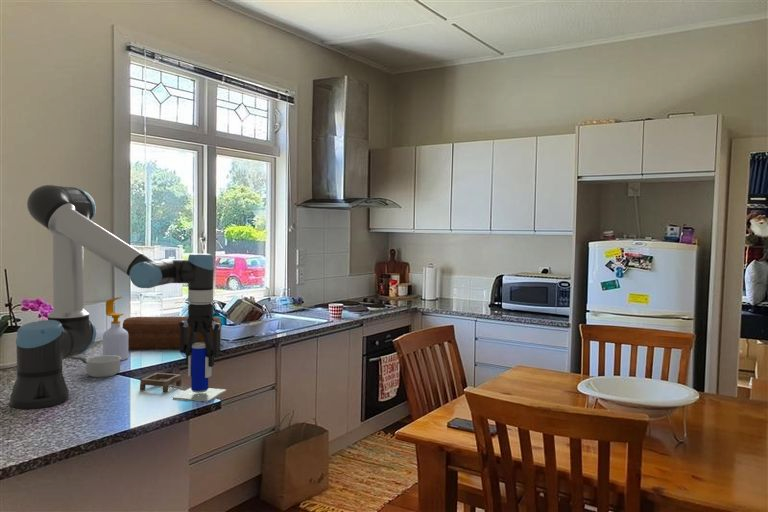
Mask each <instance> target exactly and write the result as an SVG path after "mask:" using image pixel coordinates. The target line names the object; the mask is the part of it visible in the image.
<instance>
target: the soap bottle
mask: <svg viewBox="0 0 768 512" xmlns="http://www.w3.org/2000/svg"><path fill="white" fill-rule="evenodd" d="M122 298H123V297H122V296H120V297H119V296H118V297H114V298H111V299H107V300H106V302H105V314H106V316H107V317H108V316H109V317H111V318H112V319H113V320H111V321H110V327H109V328H108V329H106V330H105V331H104V332H103V334H102V356H106V355H113V356H120V357H121V359H120V362H121V361H122V362H123V361H125V360H128V358H129V350H128V332H127V331H126V330H125V329H123V328H122V326H121V321H120V320H119V318H120V317H122V316H123V315H124V313H116V312H115V311H114V307H115V306H114V305H115V304H114V303H115V301H116V300H119V299H122Z"/></svg>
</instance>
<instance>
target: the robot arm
mask: <svg viewBox="0 0 768 512" xmlns="http://www.w3.org/2000/svg"><path fill="white" fill-rule="evenodd" d="M26 205H27V210H28V211H27V212H29V215H30V216H31V217H32V218H33V219H34V220H35V221H36V222H37V223H39V224H40V225H41V226H43V227H45V228H46V229H47V231H49V233H51V235H52V291H53V292H52V295H53V296H52V298H53V299H52V300H53V301H52V305H53V306H52V307H53V308H52V311H51V312H50V313H48V314H47V319H45V320H44V319H43V320H38V321H32V322H27V323H25V324H23V325H21V326H20V327H19V328H18V329H17V332H16V338H15V344H16V379H15V382H14V385H13V388H12V392H11V393H10V396H9V406H10V407H11V408H15V409H22V410H23V409H26V410H27V409H39V408H40V409H41V408H48V407H53V406H56V405H59V404H63V403H65V402H66V401H68V400H70V399H69V398H70V390H69V389H68V386H67V383H66V380H65V377H64V374H63V360H65V359H69V358H68V357H71V356H75V357H76V356H78V355H80V354H82V353H84V352H86V351H87V350H88V349H90V348H91V347H92V346H93V344H95V341H96V336H97V328H96V325H95V324H94V323H93V322H92V320H90V312H88V311H87V310H86V309H85V306H84V305H85V304H84V303H85V302H84V297H85V295H84V291H85V289H84V288H85V287H84V286H85V285H84V280H85V279H84V276H85V274H84V273H85V272H84V270H85V269H84V266H85V265H84V255H85V253H84V249H86V250H87V251H89V252H91V254H92V253H93V254H94V255H96V256H97V257H99V258H100V259H102V260H103V261H105V262H106V263H108V264H109V265H111V266H112V267H114V268H116V269H117V270H119V271H120V272H122V273H124V274H125V275H127V276H128V277H129V279H130V282H132V284H133V285H134V287H136V288H140V289H153V288H155V287H159V286H164V285H168V284H187V285H188V287H187V288H188V292H187V302H189V303H188V304H187V315H188V316H187V317H188V319H187V321H182V322H179V326H180V329H181V334H180V349H179V352H180V353H181V354H184V355H185V365H186V366H187V371H188V372H187V377H191V363H192V345H193V343H195V342H196V338H197V334H198V333H199V332H200V333H202V336H203V337H204V341H205V345H206V350H207V354H208V356H207V357H205V378H208V379H209V378H210V377H212V373H213V372H212V371H213V370H212V368H213V367H214V365H215V356H217V355H219V354H221V342H220V330H221V331H222V327H223V324H222V322H221V323H216V322H214V320H213V317H214V316H213V315H214V304H213V302H214V270H215V267H214V265H215V264H214V257H213V255H212V254H210V253H190V254H188V258H187V259H177V258H176V259H175V258H174V259H173V258H172V259H171V258H155V259H152V258H150V257H149V256H148V255H146V254H144V253H142V252H141V251H139V250H138V249H136V248H135V247H134V246H131V245H130V244H128V243H127V242H125V241H124V240H122V239H120V238H119V237H118V236H116V235H115V234H113V233H112V232H110V231H108V230H107V229H105V228H103V227H102V226H101V225H99V224H97V223H96V222H94V221H92V219H94V218H95V215H96V211H97V209H96V208H97V207H96V203H95V200H94V198H93V197H92V195H90V194H89V192H87V191H86V190H84V189H81V188H77V187H73V186H62V185H61V186H60V185H53V184H47V185H41V186H38V187H37V188H35V189H34V190H32V191H31V192H30V194H29V196H28V198H27V202H26ZM188 325H189V326H190V327H191V330H190V337H189V341H188ZM211 326H213V329H214V330H213V343H212V338H211V330H210V328H211Z"/></svg>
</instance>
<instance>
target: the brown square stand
mask: <svg viewBox="0 0 768 512" xmlns="http://www.w3.org/2000/svg"><path fill="white" fill-rule="evenodd" d="M163 379H164V380H163ZM139 381H140V384H139V391H140V390H144V391H146V390H145V389H146V387H147V386H154V387H155V386H156V387H162V393H163V392H167V393H169V386H170V385H172V384H175V385H176V387H181V386H182V374H179V373H178V374H177V373H168V372H167V373H164V372H155V373H153V374H150V375H148V376H146V377H143V378H141V379H140V380H139Z"/></svg>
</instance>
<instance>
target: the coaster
mask: <svg viewBox="0 0 768 512" xmlns="http://www.w3.org/2000/svg"><path fill="white" fill-rule="evenodd" d="M226 392H227V389H224V388H211V387H208V390H207V391H205V392H201V393H196V392H193V391H192V390H191V387H188V388H187V389H185V390H183V391H181V392H179V393H178V394H176V395H174V396H172V397H171V399H172V398H173V399H172V400H176V399H183V400H182V401H188V400H196V401H195V402H199V401H205V402H204V403H209V402H208V401H210V400H211V401H212V399H213V400H215V399H216V398H218V397H219V396H221V395H222V394H224V393H226ZM189 393H192V394H189ZM198 395H199V396H198ZM207 397H208V398H207ZM186 399H187V400H186ZM211 401H210V402H211Z"/></svg>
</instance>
